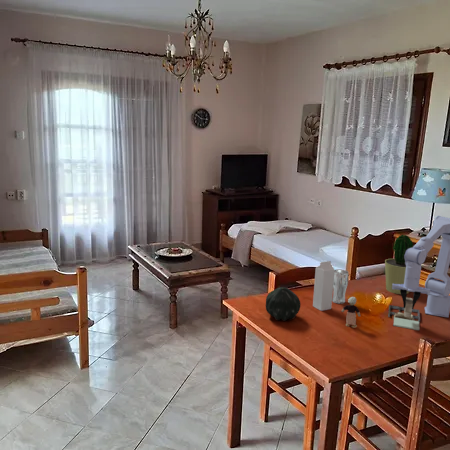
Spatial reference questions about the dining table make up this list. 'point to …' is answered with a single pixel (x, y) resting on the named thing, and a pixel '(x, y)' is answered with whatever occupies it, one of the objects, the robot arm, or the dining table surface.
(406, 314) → the tall beige block
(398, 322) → the sage mat
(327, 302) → the milk
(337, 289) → the beer glass
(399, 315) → the offcut stack
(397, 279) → the potted cactus
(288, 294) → the squash
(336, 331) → the dining table surface
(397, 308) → the metal rack
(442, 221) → the robot arm
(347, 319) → the grandmother figurine
